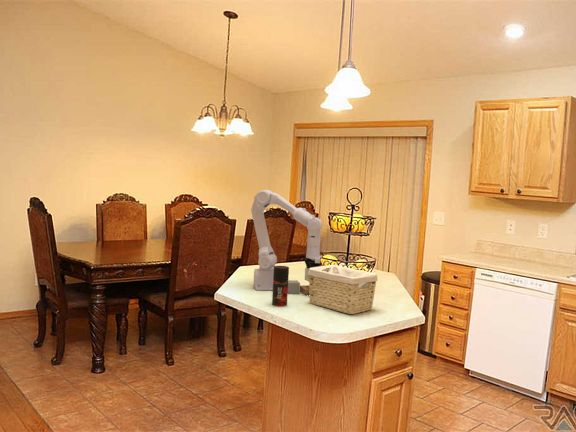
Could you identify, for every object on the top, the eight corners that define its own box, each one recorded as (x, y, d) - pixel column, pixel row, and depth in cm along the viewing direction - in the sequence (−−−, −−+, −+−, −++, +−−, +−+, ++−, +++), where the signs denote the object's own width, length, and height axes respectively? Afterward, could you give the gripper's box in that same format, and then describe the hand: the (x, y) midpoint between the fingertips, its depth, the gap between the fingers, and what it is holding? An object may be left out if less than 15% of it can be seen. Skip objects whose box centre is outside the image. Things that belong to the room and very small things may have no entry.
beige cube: (308, 281, 210) (308, 270, 210) (304, 279, 215) (305, 268, 215) (319, 281, 212) (319, 270, 212) (315, 279, 217) (315, 268, 216)
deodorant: (274, 306, 189) (276, 268, 188) (270, 302, 195) (272, 265, 194) (288, 306, 191) (290, 268, 190) (284, 302, 197) (286, 265, 195)
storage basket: (304, 303, 198) (306, 267, 197) (330, 297, 209) (332, 263, 208) (351, 317, 181) (353, 278, 180) (377, 310, 192) (379, 273, 191)
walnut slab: (304, 296, 209) (305, 289, 209) (299, 292, 217) (300, 285, 217) (322, 296, 211) (322, 289, 211) (316, 291, 219) (317, 285, 219)
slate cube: (288, 294, 211) (288, 282, 210) (285, 291, 215) (286, 280, 215) (299, 294, 212) (300, 282, 211) (296, 291, 217) (297, 280, 216)
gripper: (327, 248, 206) (325, 280, 207) (317, 243, 220) (315, 273, 221) (311, 248, 205) (309, 280, 206) (302, 243, 219) (300, 273, 220)
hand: (311, 276), depth 213 cm, fingers closed on beige cube, 5 cm apart
